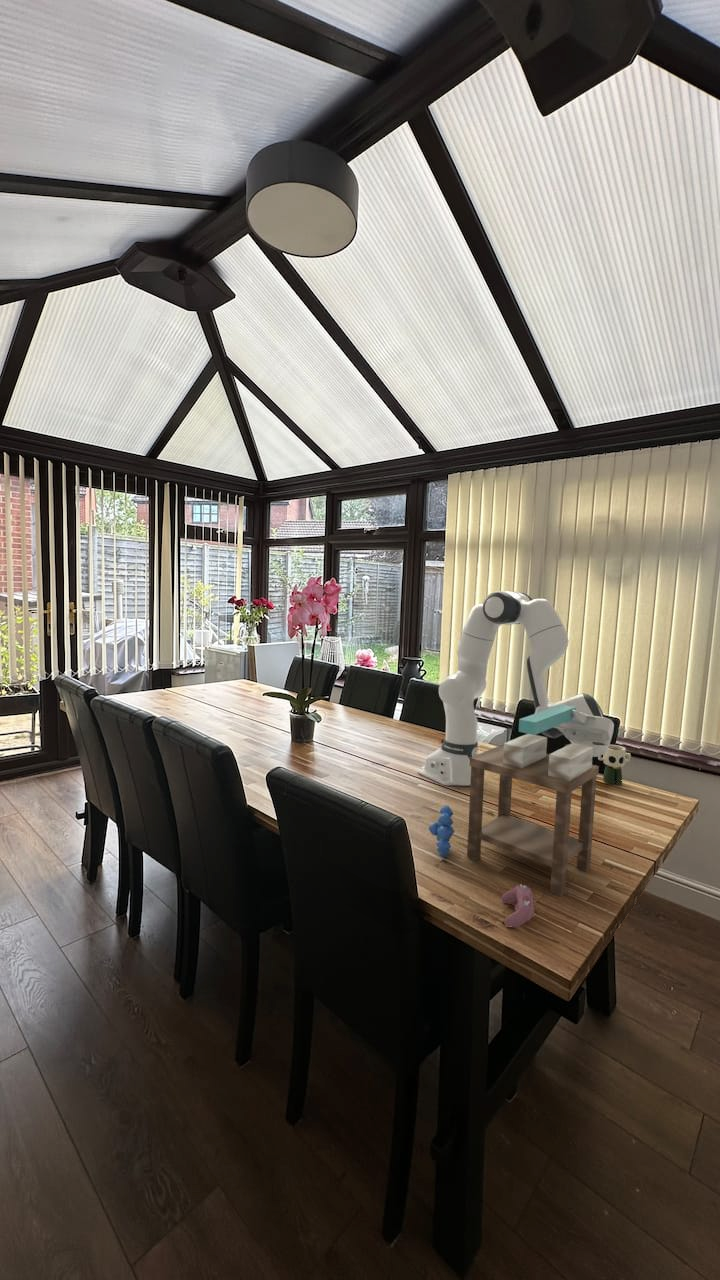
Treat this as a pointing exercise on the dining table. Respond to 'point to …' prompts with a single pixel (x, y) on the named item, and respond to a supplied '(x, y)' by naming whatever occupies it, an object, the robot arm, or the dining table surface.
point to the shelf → (545, 770)
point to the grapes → (443, 830)
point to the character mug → (614, 763)
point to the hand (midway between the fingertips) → (563, 711)
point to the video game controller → (519, 905)
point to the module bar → (545, 719)
